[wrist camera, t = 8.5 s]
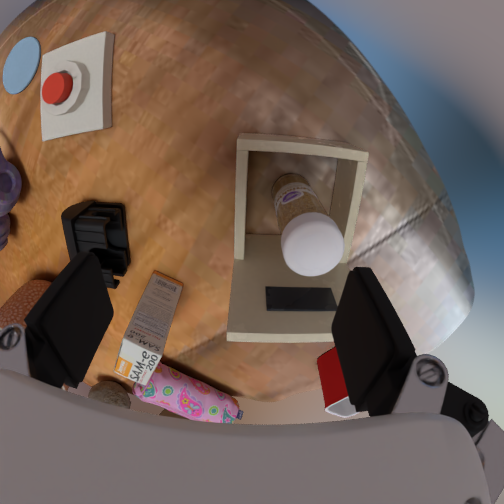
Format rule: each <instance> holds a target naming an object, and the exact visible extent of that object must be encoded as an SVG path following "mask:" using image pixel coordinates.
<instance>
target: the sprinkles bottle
mask: <svg viewBox="0 0 504 504" xmlns="http://www.w3.org/2000/svg"><path fill="white" fill-rule="evenodd" d="M272 198H273V200H274V206H275V211H276V216H277V221H278V225H279V229H280V232H281V235H282V236H281V248H282V253H283V257H284V260H285V262H286V264H287V265H288V267H289V268H290V269H291V270H293V271H294V272H296V273H298V274H300V275H303V276H319V275H322V274H325V273H327V272H329V271H330V270H332V269H333V268H334V267H335V266H336V265H337V264H338V263H339V262H340V260H341V258H342V256H343V253H344V247H345V244H344V239H343V236H342V234H341V232H340V230H339V228H338V226H337V225H336V223H335V222H334V221H333V220H332V219H331V218H330V217H329V216H328V214H327V213H326V211H325V209H324V208H323V206H322V204H321V203H320V201H319V200H318V198H317V196H316V195H315V193H314V191H313V190H312V189H311V188H310V185H309V183H308V181H307V180H306V179H305V178H303V177H302V176H299V175H296V174H289V175H288V174H287V175H284V176H282V177H280V178H279V179H278V180H277V181H276V182H275V184H274V186H273V188H272Z"/></svg>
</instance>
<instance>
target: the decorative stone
mask: <svg viewBox="0 0 504 504" xmlns="http://www.w3.org/2000/svg"><path fill="white" fill-rule="evenodd" d="M88 397H89V398H90V399H93V400H96V401H100V402H103V403H107V404H111V405H114V406H118V407H123V408H127V409H130V405H131V402H130V398H129V396H128V394H127V392H126V390H125V389H124V388H123V387H122V386H121V385H119V384H118V383H116V382H112V381H102V382H99V383H97V384H95V385H94V386H92V388H91V390H90V392H89V395H88Z"/></svg>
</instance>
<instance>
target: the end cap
mask: <svg viewBox="0 0 504 504" xmlns="http://www.w3.org/2000/svg"><path fill="white" fill-rule="evenodd" d="M61 219H62V225H63V230H64V235H65V240H66V244H67V249H68V253H69V257H70V261H71V260H72V259H73V258H74V257H75V256H76V255H77V254H78V253H79V252H80V251H85V252H93V253H94V254H95V256H97V257H98V259H99V262H100V266H101V270H102V273H103V277H104V280H105V284H106V287H107V288H113V289H116V288H117V286H118V285H119V283H120V281H119V280H116V279H114V277H113V275H115V276H122V277H124V275H125V273H126V272H127V268H128V265H129V264H130V262H131V261H130V253H129V245H128V237H127V227H126V216H125V207H124V205H123V204H121V203H106V202H96V201H86V202H81V203H77V204H75V205H72V206H70V207H68V208H67V209H66V210H64V211H63V213H62V215H61Z"/></svg>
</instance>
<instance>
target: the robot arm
mask: <svg viewBox="0 0 504 504" xmlns="http://www.w3.org/2000/svg"><path fill="white" fill-rule="evenodd" d="M113 314H114V311H113V307H112V304H111V301H110V297H109V294H108V291H107V287H106V284H105V280H104V277H103V273H102V270H101V266H100V262H99V259H98V257H97V256H95V254H94V253H93V252H85V251H80V252H79V253H78V254H77V255H76V256H75V257H74V258H73V259H72V260H71V261H70V262H69V264H68V265H67V266H66V267H65V268H64V269H63V270H62V272H61V273H60V274H59V275H58V276H57V277H56V279H55V280H54V281H53V282H52V283H51V285H50V286H49V287H48V288H47V290H46V291H45V292H44V293H43V295H42V296H41V297H40V298H39V300H38V301H37V302H36V304H35V305H34V306H33V308H32V309H31V310H30V312H29V313H28V314H27V316H26V317H25V319H24V321H25V323H26V325H27V327H26V328H25V329H24V327H23V326H22V325H21V324H19V323H12V324H9V325H7V326H5V327H4V328H3V329H2V330H1V331H0V504H495V502H496V500H497V499H498V497H499V495H500V494H501V492H502V490H503V488H504V431H503V430H502V429H501V428H500V427H499V426H498V425H497V424H496V423H495V422H494V421H493V420H492V419H491V420H490V421H488V416H489V415H488V410H487V408H486V405H485V404H484V403H483V402H482V401H481V400H480V399H478V398H477V397H475V396H473V395H471V394H469V393H467V392H466V391H464V390H462V389H460V388H459V387H457V386H455V385H453V384H452V383H450V382H448V375H449V374H448V371H447V368H446V367H445V365H444V363H443V362H442V361H441V360H440V359H438V358H437V357H435V356H432V355H429V354H422V355H419V356H417V355H416V353H415V348H414V346H413V344H412V342H411V340H410V338H409V336H408V334H407V332H406V330H405V328H404V326H403V324H402V322H401V320H400V318H399V317H398V315H397V313H396V311H395V309H394V307H393V306H392V304H391V302H390V300H389V298H388V297H387V295H386V293H385V291H384V290H383V288H382V286H381V285H380V283H379V281H378V279H377V278H376V276H375V274H374V273H373V271H372V269H371V268H369V267H355V268H354V269H353V271H349V273H348V276H347V279H346V282H345V286H344V289H343V292H342V295H341V298H340V301H339V304H338V307H337V310H336V313H335V316H334V319H333V322H332V326H331V331H332V336H333V339H334V343H335V346H336V350H337V354H338V357H339V361H340V365H341V369H342V373H343V377H344V380H345V384H346V389H347V393H348V397H349V401H350V403H351V405H355V409H356V412H362V411H368V413H369V416H370V417H366V418H359V419H352V420H343V421H333V422H321V423H308V424H286V425H252V424H230V423H216V422H205V421H196V420H187V419H180V418H173V417H167V416H161V415H155V414H150V413H144V412H140V411H136V410H131V409H127V408H123V407H118V406H114V405H111V404H107V403H103V402H100V401H96V400H93V399H90V398H86V397H83V396H80V395H77V394H74V393H71V392H68V391H65V390H63V388H62V386H63V384H64V383H65V385H67V386H70V387H73V388H76V389H77V387H78V384H79V382H82V381H83V379H84V377H85V375H86V373H87V370H88V368H89V366H90V364H91V361H92V359H93V357H94V355H95V353H96V351H97V348H98V346H99V344H100V342H101V340H102V338H103V336H104V334H105V332H106V330H107V328H108V326H109V324H110V322H111V320H112V318H113Z"/></svg>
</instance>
